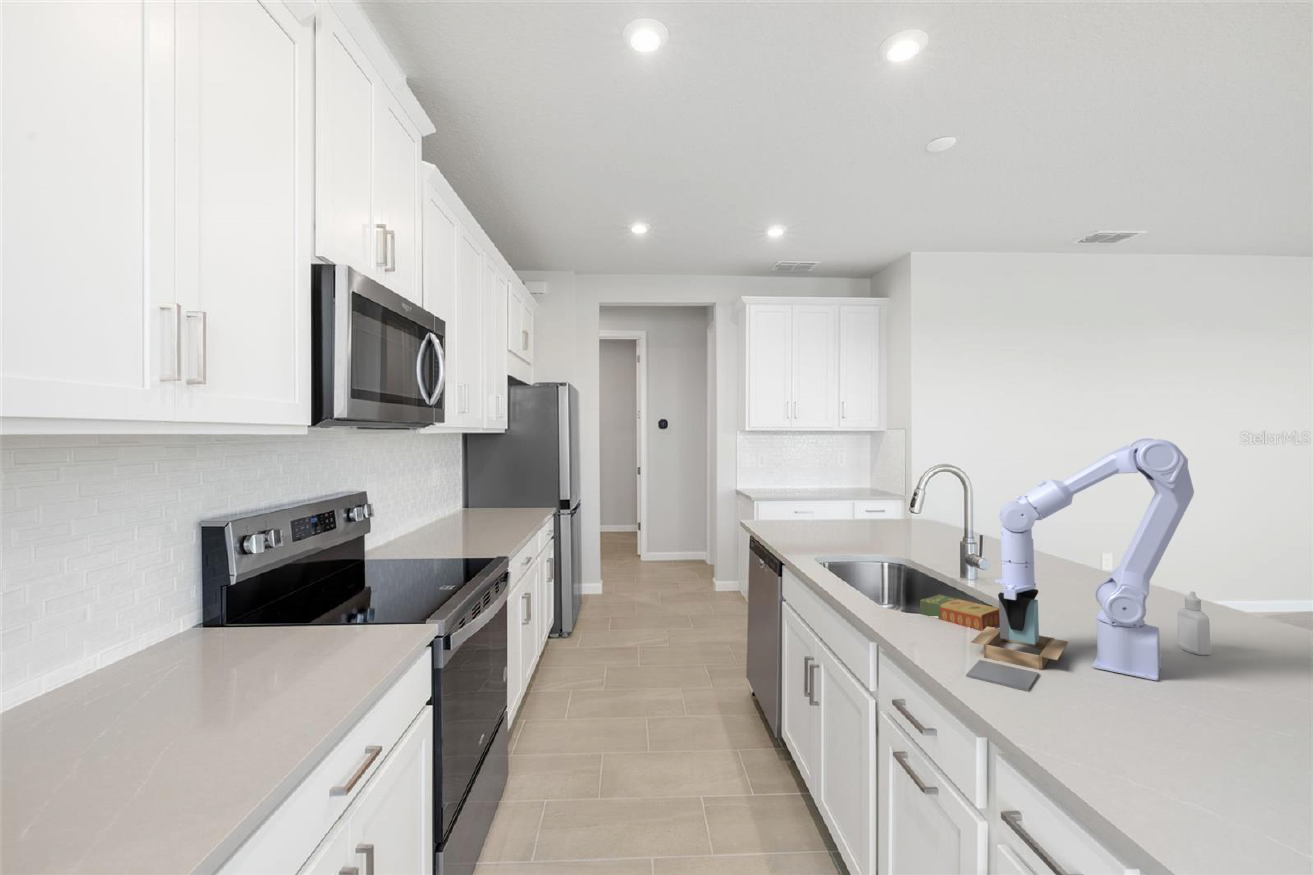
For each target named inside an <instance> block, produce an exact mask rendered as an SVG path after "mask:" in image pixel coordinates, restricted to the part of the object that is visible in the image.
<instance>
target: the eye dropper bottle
mask: <svg viewBox="0 0 1313 875" xmlns="http://www.w3.org/2000/svg"><path fill="white" fill-rule="evenodd" d="M1210 626H1211V625H1210V618H1209V616H1208V615H1207V614H1206V613H1205V612H1203V611H1202V599H1200V598H1198V597H1197V595H1196V592H1195V591H1189V594H1188V596H1186V597H1184V607H1183V608H1180V609H1178V611H1177V643H1178V644H1177V645H1178V647H1180V648H1181V649H1182V650H1184V651H1186V652H1188V653H1191V654H1194V655H1198V656H1210V655H1211V630H1210V629H1211V627H1210Z"/></svg>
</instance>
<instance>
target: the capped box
mask: <svg viewBox="0 0 1313 875" xmlns="http://www.w3.org/2000/svg"><path fill="white" fill-rule="evenodd" d="M998 608H999V619H1000V626H999V629H1000V638H1002V639H1007V640H1013V641H1018V642H1023V643H1028V644H1034V645H1035V644H1036V642H1037V641H1038V640H1039V635H1040V629H1039V626H1040V625H1039V600H1038V599H1032V600H1031V601H1030V603H1029V605H1028V608H1027V611H1026V617H1025V624H1024V628H1023V631H1018V630H1012V629H1011V628H1010V626H1009V622H1008V618H1007V615H1006V611H1005V609H1004V607H1003V605H1002V603H1001V601H1000V600H999V599H998Z"/></svg>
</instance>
